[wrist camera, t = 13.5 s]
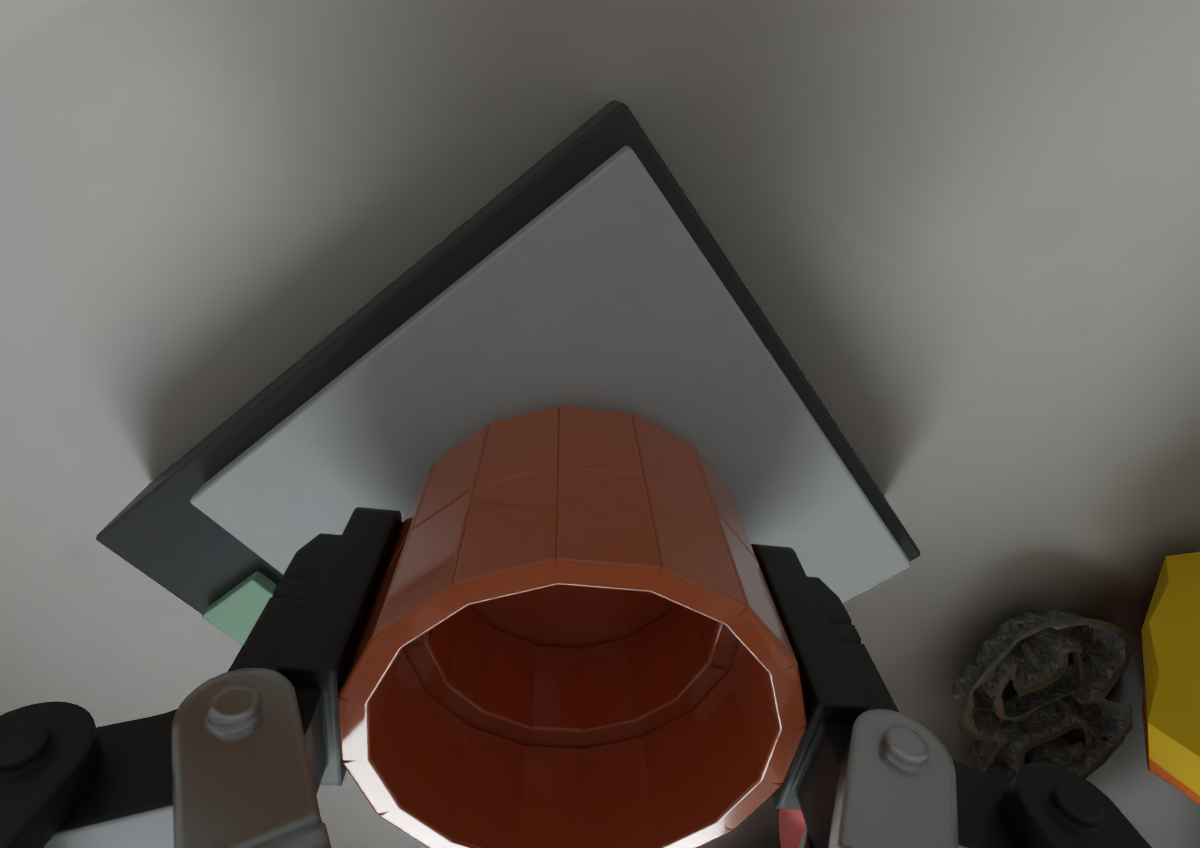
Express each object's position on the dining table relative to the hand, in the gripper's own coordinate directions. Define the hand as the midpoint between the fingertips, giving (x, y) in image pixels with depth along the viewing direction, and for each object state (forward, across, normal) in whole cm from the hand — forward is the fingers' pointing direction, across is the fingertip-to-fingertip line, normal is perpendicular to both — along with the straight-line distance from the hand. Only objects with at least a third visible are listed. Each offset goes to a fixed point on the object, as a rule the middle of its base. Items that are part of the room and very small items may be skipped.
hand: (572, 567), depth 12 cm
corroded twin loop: (+4, -14, +6) cm, 15 cm away
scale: (+4, +1, +1) cm, 4 cm away
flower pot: (+1, 0, 0) cm, 1 cm away
